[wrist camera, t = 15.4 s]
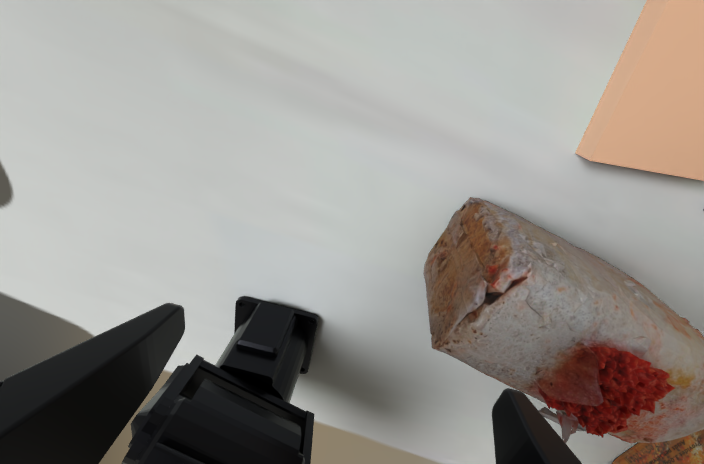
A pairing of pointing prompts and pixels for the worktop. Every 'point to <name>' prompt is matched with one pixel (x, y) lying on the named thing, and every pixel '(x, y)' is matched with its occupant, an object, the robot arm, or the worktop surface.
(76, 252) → the worktop surface
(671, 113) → the tile
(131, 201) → the worktop surface
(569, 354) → the food item
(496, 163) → the worktop surface
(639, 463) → the tin
